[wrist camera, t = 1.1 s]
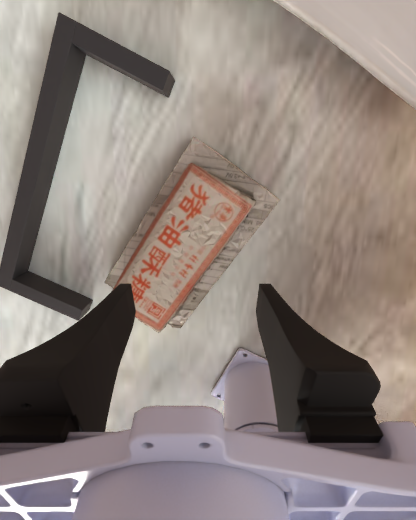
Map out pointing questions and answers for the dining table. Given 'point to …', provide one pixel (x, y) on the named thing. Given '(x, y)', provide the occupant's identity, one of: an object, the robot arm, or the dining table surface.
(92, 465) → the robot arm
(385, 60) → the square plate
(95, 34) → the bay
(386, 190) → the dining table surface
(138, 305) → the packaged product
